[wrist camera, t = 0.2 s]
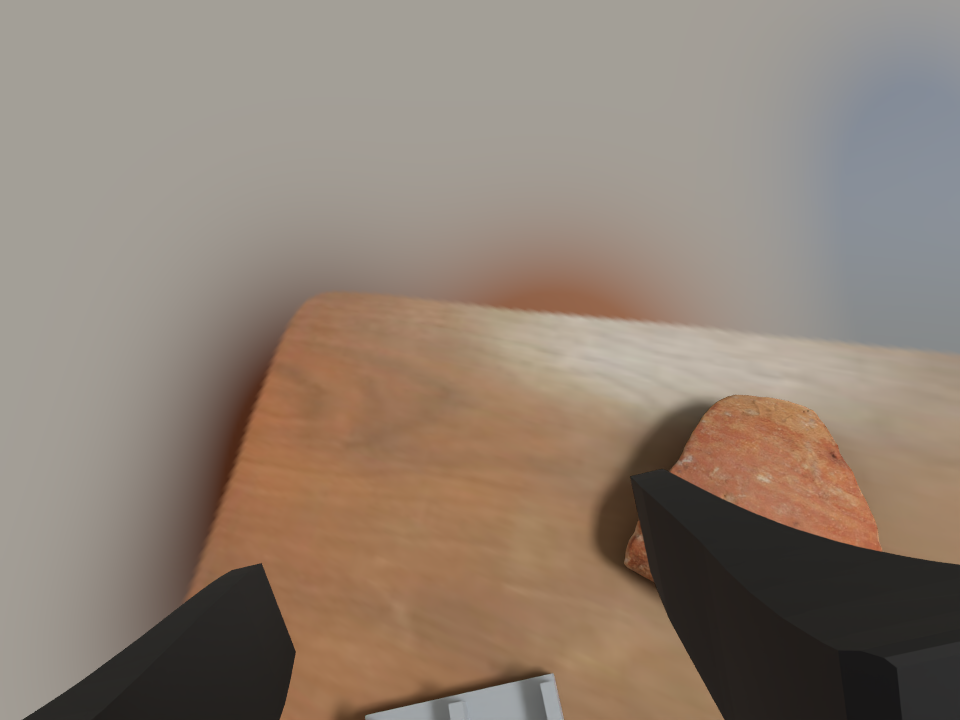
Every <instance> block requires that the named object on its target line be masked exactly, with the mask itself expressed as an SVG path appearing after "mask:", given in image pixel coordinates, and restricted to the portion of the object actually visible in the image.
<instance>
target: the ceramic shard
mask: <svg viewBox="0 0 960 720" xmlns="http://www.w3.org/2000/svg"><path fill="white" fill-rule="evenodd" d="M669 472H671V473H673V474H675V475H677V476H678V477H680V478H682V479H684V480H686V481H688V482H690V483H692V484H694V485H696V486H698V487H700V488H702V489H704V490H706V491H708V492H710V493H712V494H714V495H716V496H718V497H720V498H722V499H724V500H726V501H728V502H730V503H733V504H735V505H737V506H739V507H742V508H744V509H746V510H748V511H751V512H753V513H756V514H758V515H761V516H763V517H766V518H768V519H771V520H773V521H776V522H778V523H781V524H784V525H787V526H789V527H792V528H795V529H798V530H801V531H805V532H808V533H811V534H814V535H818V536H821V537H824V538H828V539H831V540H834V541H838V542H842V543H846V544H850V545H854V546H858V547H862V548H867V549H872V550H876V551H881V552H882V548H881V546H880V543H879V538H878V528H877V525H876V522H875V519H874V517H873V515H872V513H871V511H870V509H869V506H868V504H867V502H866V500H865V498H864V496H863V494H862V492H861V490H860V488H859V487H858V484H857V482H856V479H855V477H854V474H853V472H852V470H851V469H850V467H849V466H848V465H847V464H846V462H845V461H844V459H843V458H842V456H841V454H840V453H839V448H838V445H837V444H836V443H835V441H834V440H833V438H832V436H831V434H830V433H829V431H828V429H827V427H826V426H825V425H824V424H823V422H822V421H821V420H820V419H819V417H818V416H817V414H816V413H815V412H814V411H813V410H810V409H808V408H807V407H804V406H801V405H798V404H794V403H792V402H789V401H785V400H779V399H774V398H769V397H756V396H749V395H732V396H728V397H726V398H724V399H722V400H720V401H718V402H716V403H715V404H714V405H713V406H712V407H710V408H709V410H708V411H707V412H706V413H705V414H704V416H703V417H702V418H701V420H700V422H699V423H698V425H697V427H696V428H695V430H694V431H693V432H692V434H691V436H690V438H689V440H688V442H687V443H686V445H685V447H684V450H683V453H682V454H681V456H680V458H679V460H678V461H677V462H676V463H675V465H674V466H673V467H672V468H671V469H670V471H669ZM624 564H625V565H626V566H627V568H629V569H631V570H633V571H635V572H636V573H638V574H640V575H642V576H644V577H645V578H647V579H649V580H651V581H653V582H654V580H653V577H652V575H651V572H650V568H649V564H648V559H647V554H646V549H645V545H644V540H643V535H642V531H641V526H640V521H639V520H638V522H637V525H636V529H635V532H634V534H633V535H632V536H631V538H630V539H629V542H628V545H627V548H626V553H625V560H624Z"/></svg>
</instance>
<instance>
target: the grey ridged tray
mask: <svg viewBox="0 0 960 720" xmlns="http://www.w3.org/2000/svg"><path fill="white" fill-rule="evenodd" d="M365 720H564V717H563V713H562V708H561V704H560V700H559V695H558V691H557V686H556V682H555V677H554V674H553V673H552V674H548V675H543V676H539V677H534V678H530V679H525V680H521V681H516V682H512V683H507V684H503V685H499V686H494V687H490V688H485V689H481V690H476V691H472V692H467V693H463V694H458V695H454V696H449V697H445V698H440V699H436V700H432V701H427V702H423V703H418V704H414V705H409V706H405V707H400V708H396V709H391V710H387V711H382V712H378V713H373V714H369V715H365Z"/></svg>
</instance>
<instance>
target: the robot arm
mask: <svg viewBox="0 0 960 720" xmlns="http://www.w3.org/2000/svg"><path fill="white" fill-rule="evenodd" d="M630 478H631V483H632V488H633V493H634V497H635V502H636V507H637V512H638V516H639V521H640V526H641V531H642V535H643V540H644V545H645V549H646V554H647V559H648V564H649V568H650V572H651V575H652V577H653V580H654V582H655V585H656V588H657V590H658V593H659V595H660V598H661V600H662V603H663V605H664V608H665V610H666V612H667V615H668V617H669V619H670V621H671V623H672V625H673V627H674V629H675V631H676V632H677V634H678V636H679V638H680V640H681V642H682V643H683V645H684V647H685V649H686V651H687V653H688V654H689V656H690V658H691V660H692V662H693V663H694V665H695V667H696V669H697V671H698V672H699V674H700V676H701V678H702V680H703V681H704V683H705V685H706V687H707V689H708V691H709V692H710V694H711V696H712V698H713V700H714V701H715V703H716V705H717V707H718V709H719V710H720V712H721V714H722V716H723V718H724V719H725V720H960V565H957V564H950V563H942V562H935V561H929V560H923V559H917V558H911V557H905V556H900V555H895V554H890V553H886V552H881V551H876V550H872V549H867V548H862V547H858V546H854V545H850V544H846V543H842V542H838V541H834V540H831V539H828V538H824V537H821V536H818V535H814V534H811V533H808V532H805V531H801V530H798V529H795V528H792V527H789V526H787V525H784V524H781V523H778V522H776V521H773V520H771V519H768V518H766V517H763V516H761V515H758V514H756V513H753V512H751V511H748V510H746V509H744V508H742V507H739V506H737V505H735V504H733V503H730V502H728V501H726V500H724V499H722V498H720V497H718V496H716V495H714V494H712V493H710V492H708V491H706V490H704V489H702V488H700V487H698V486H696V485H694V484H692V483H690V482H688V481H686V480H684V479H682V478H680V477H678V476H677V475H675V474H673V473H671V472H669V471H666V470H664V469H659V470H655V471H651V472H647V473H642V474H638V475H634V476H630ZM295 653H296V651H295V649H294V646H293V643H292V641H291V638H290V636H289V633H288V630H287V628H286V625H285V623H284V620H283V618H282V615H281V612H280V610H279V607H278V605H277V602H276V599H275V597H274V594H273V592H272V589H271V586H270V584H269V581H268V579H267V576H266V574H265V571H264V568H263V566H262V563H261V564H256V565H252V566H248V567H244V568H239V569H235V570H231V571H230V572H228V573H226V574H224V575H223V576H221V577H220V578H218V579H217V580H215V581H214V582H212V583H211V584H209V585H208V586H207V587H205V588H204V589H202V590H201V591H200V592H198V593H197V594H196V595H194V596H193V597H192V598H190V599H189V600H188V601H187V602H185V603H184V604H183V605H181V606H180V607H179V608H177V609H176V610H175V611H174V612H172V613H171V614H170V615H168V616H167V617H166V618H165V619H163V620H162V621H161V622H159V623H158V624H157V625H156V626H154V627H153V628H152V629H150V630H149V631H148V632H147V633H145V634H144V635H143V636H142V637H140V638H139V639H138V640H136V641H135V642H133V643H132V644H131V645H129V646H128V647H127V648H125V649H124V650H123V651H122V652H120V653H119V654H117V655H116V656H114V657H113V658H112V659H111V660H109V661H108V662H106V663H105V664H104V665H102V666H101V667H100V668H98V669H97V670H96V671H94V672H93V673H92V674H90V675H89V676H87V677H86V678H85V679H83V680H82V681H80V682H79V683H77V684H76V685H75V686H73V687H72V688H70V689H69V690H67V691H66V692H64V693H63V694H61V695H60V696H58V697H57V698H55V699H54V700H52V701H51V702H49V703H48V704H46V705H45V706H43V707H41V708H40V709H38V710H37V711H35V712H34V713H32V714H30V715H29V716H27V717H26V718H24V719H23V720H280V717H281V714H282V711H283V708H284V705H285V701H286V697H287V692H288V688H289V684H290V679H291V674H292V669H293V663H294V658H295Z"/></svg>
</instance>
